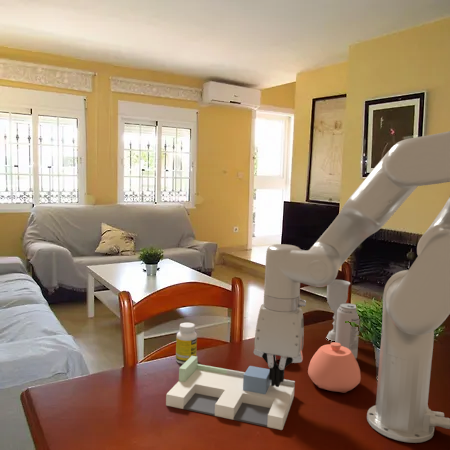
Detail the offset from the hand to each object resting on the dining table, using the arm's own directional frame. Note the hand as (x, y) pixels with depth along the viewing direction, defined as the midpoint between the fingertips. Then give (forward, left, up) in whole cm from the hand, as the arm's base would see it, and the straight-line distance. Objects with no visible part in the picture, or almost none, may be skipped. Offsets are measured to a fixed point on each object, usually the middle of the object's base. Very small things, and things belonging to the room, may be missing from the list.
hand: (276, 383), depth 95 cm
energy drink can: (-14, -30, -4) cm, 33 cm away
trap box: (+9, +3, -4) cm, 10 cm away
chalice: (-10, -44, -4) cm, 45 cm away
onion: (+3, -22, -4) cm, 23 cm away
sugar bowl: (-12, -14, -4) cm, 19 cm away
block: (+4, 0, -2) cm, 5 cm away
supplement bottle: (+26, -12, -4) cm, 30 cm away
